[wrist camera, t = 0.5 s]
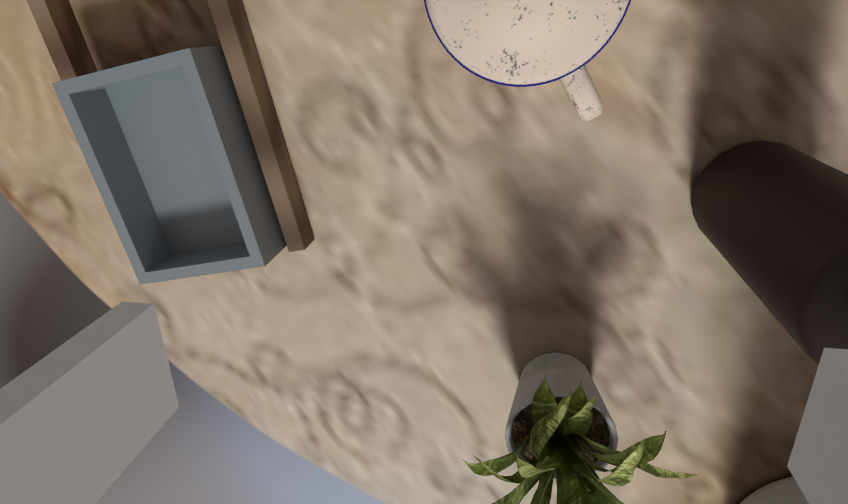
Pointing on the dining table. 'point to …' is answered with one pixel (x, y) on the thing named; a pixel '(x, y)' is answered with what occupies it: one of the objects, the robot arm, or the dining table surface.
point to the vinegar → (782, 235)
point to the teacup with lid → (530, 41)
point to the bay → (249, 82)
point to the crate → (175, 164)
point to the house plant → (566, 438)
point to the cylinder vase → (778, 493)
